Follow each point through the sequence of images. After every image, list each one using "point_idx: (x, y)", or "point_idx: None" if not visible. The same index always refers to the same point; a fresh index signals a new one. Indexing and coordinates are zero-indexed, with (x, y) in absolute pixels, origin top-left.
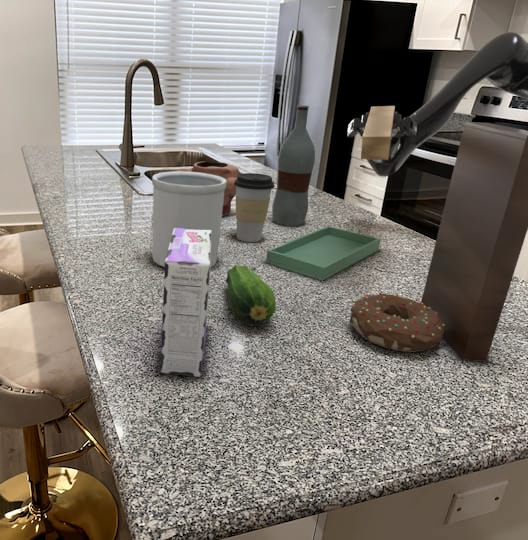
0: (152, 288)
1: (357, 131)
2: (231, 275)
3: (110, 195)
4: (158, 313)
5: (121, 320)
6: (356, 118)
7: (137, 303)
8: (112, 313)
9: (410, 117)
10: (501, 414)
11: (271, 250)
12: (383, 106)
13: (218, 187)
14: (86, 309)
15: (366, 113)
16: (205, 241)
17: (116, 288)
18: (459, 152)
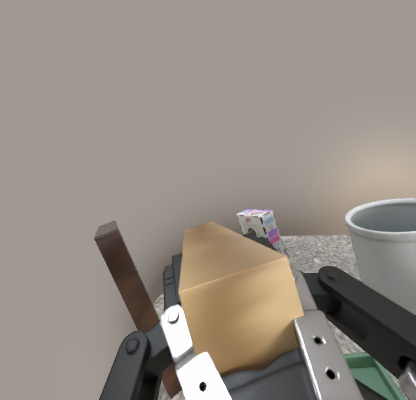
0: (338, 260)
1: (330, 318)
2: (291, 267)
3: None
4: (302, 254)
5: (303, 244)
6: (324, 267)
7: (318, 251)
8: (312, 243)
9: (122, 342)
10: (158, 306)
11: (372, 357)
12: (230, 271)
13: (349, 227)
14: (322, 237)
15: (249, 232)
16: (250, 214)
17: (346, 248)
18: (128, 252)
